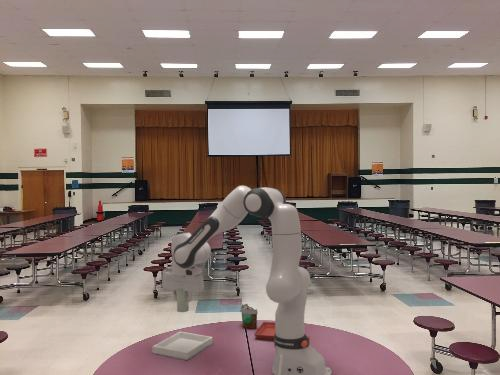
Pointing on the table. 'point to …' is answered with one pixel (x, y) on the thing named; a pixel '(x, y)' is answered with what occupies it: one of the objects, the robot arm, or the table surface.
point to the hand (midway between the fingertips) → (182, 300)
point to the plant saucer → (266, 331)
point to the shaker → (182, 299)
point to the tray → (182, 345)
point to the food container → (249, 317)
